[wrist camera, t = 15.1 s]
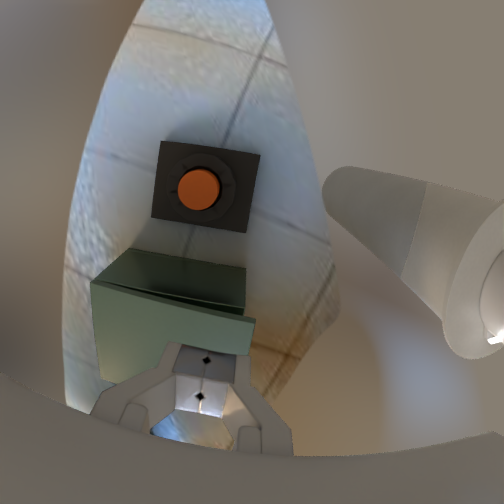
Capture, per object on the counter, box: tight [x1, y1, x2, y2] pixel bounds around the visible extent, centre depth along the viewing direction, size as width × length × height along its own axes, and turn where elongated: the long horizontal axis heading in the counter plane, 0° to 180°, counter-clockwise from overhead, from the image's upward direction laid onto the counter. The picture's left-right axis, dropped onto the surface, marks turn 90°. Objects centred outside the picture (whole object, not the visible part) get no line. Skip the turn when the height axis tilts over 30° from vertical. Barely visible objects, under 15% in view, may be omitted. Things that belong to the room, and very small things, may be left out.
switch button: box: [178, 169, 220, 210], centre depth 27 cm, size 4×4×2 cm
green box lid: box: [90, 279, 256, 384], centre depth 25 cm, size 14×12×1 cm
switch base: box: [151, 141, 260, 233], centre depth 28 cm, size 10×8×3 cm
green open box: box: [95, 248, 246, 316], centre depth 30 cm, size 14×12×9 cm
